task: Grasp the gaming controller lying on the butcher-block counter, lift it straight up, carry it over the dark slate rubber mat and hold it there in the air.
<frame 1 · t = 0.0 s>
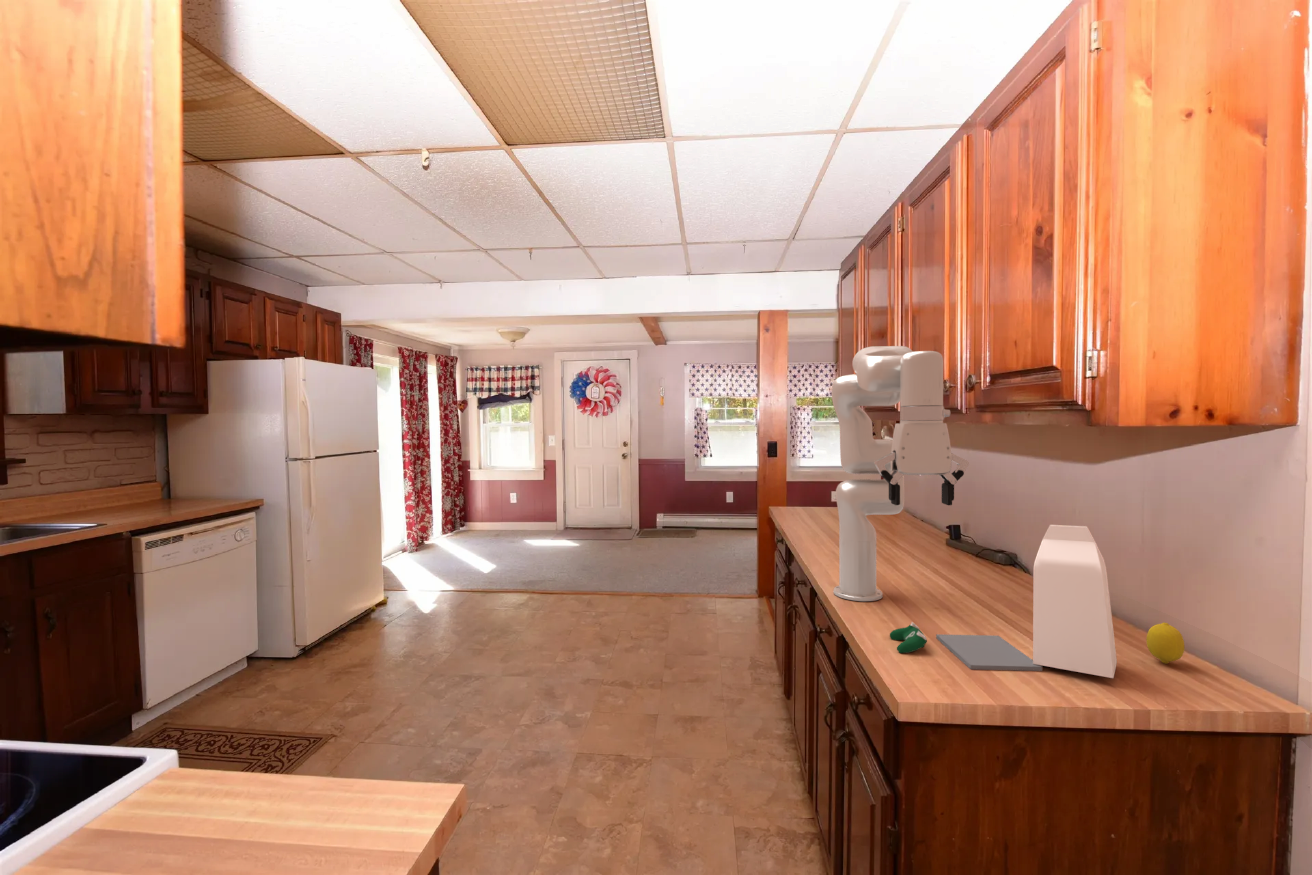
hand: (920, 504, 111), 31 cm above the countertop, tool pointing down, fingers open, 9 cm apart
gaming controller: (908, 647, 121), on the countertop
slate mat: (985, 653, 117), on the countertop
milk: (1075, 663, 110), point 1 cm above the countertop, touching slate mat
lemon: (1164, 664, 111), on the countertop
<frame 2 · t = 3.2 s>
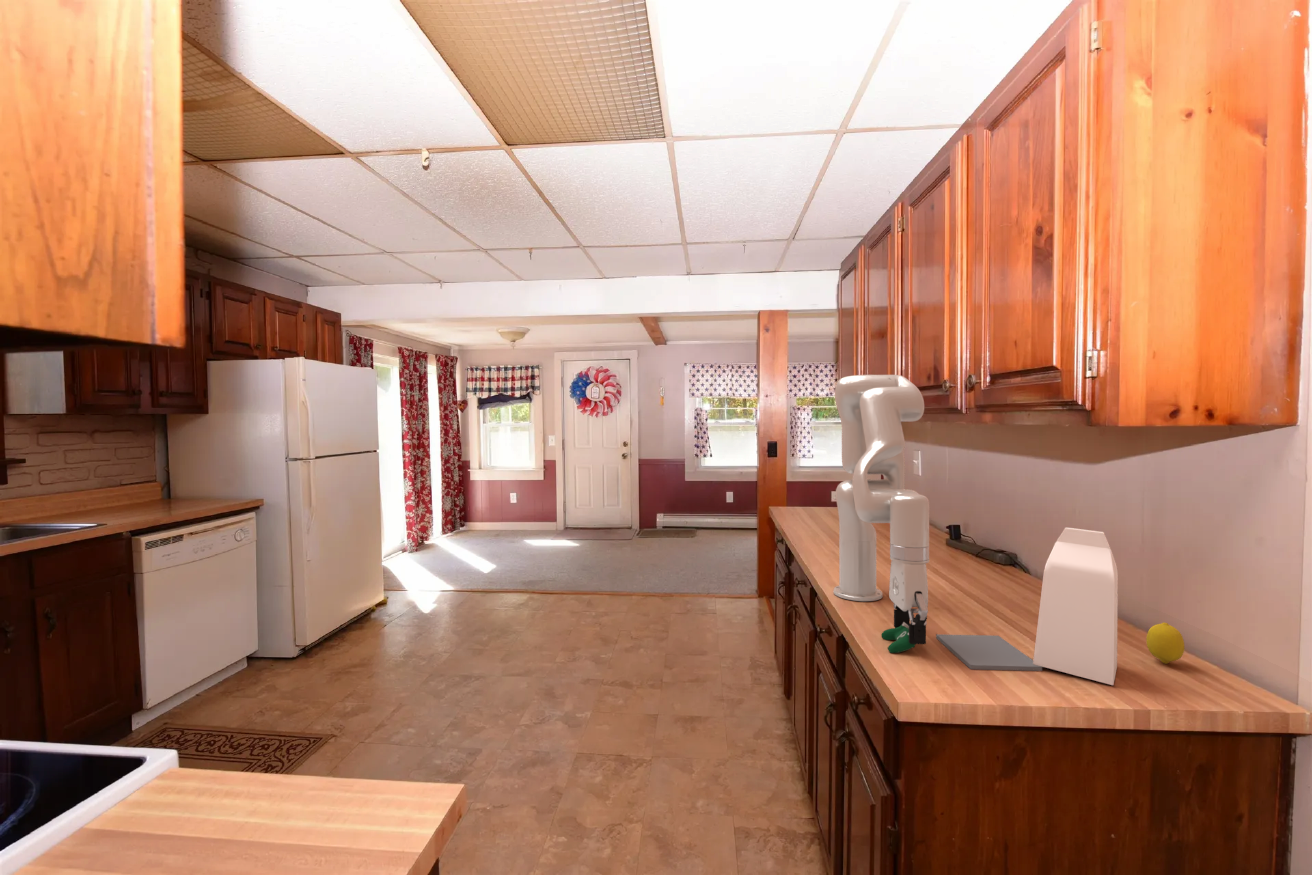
hand: (909, 635, 120), 2 cm above the countertop, tool pointing down, fingers closed on gaming controller, 8 cm apart
gaming controller: (899, 647, 121), on the countertop, touching gripper
milk: (1075, 666, 110), on the countertop, touching slate mat
everything else where it was.
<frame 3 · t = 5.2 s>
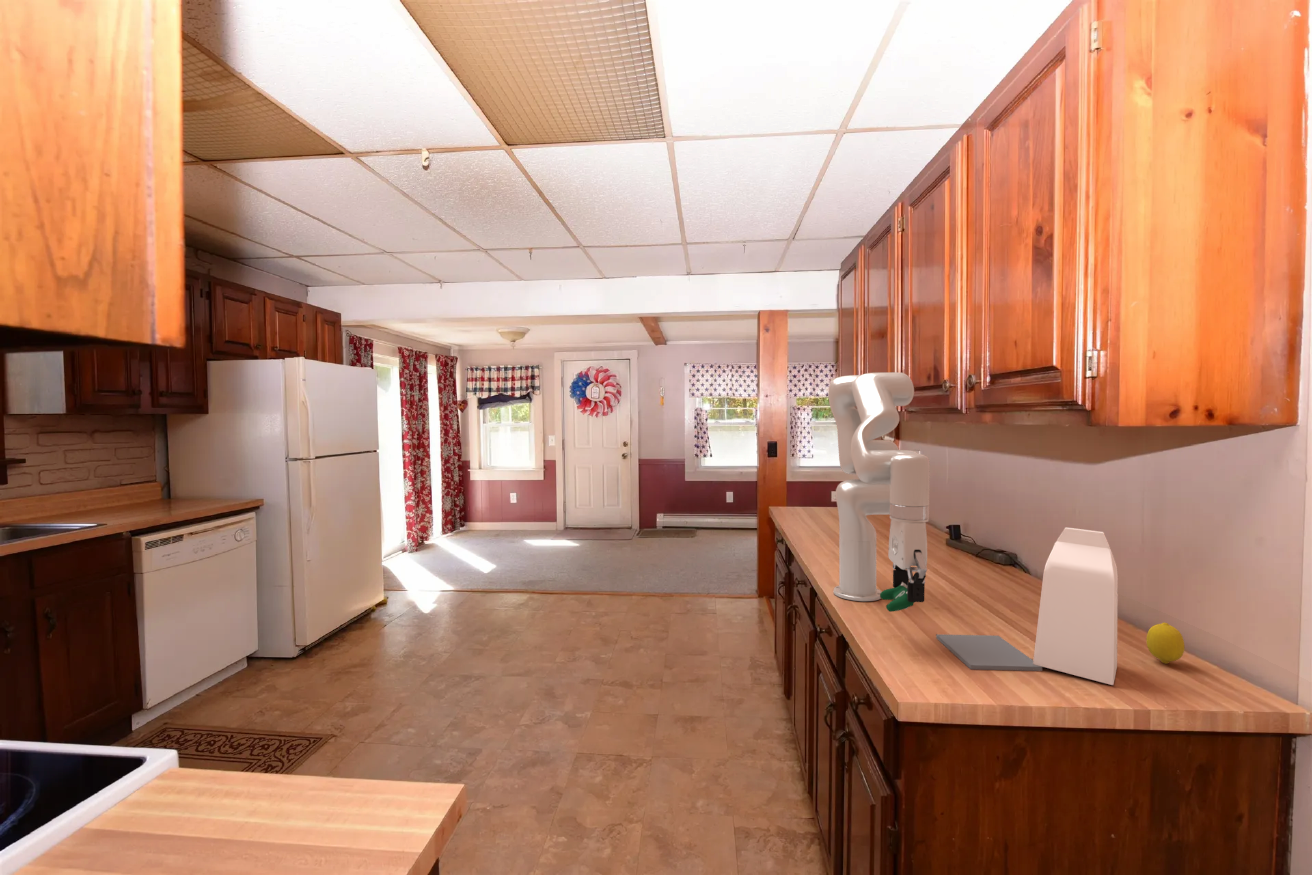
hand: (907, 594, 121), 11 cm above the countertop, tool pointing down, fingers closed on gaming controller, 8 cm apart
gaming controller: (897, 607, 122), point 8 cm above the countertop, touching gripper
everything else where it was.
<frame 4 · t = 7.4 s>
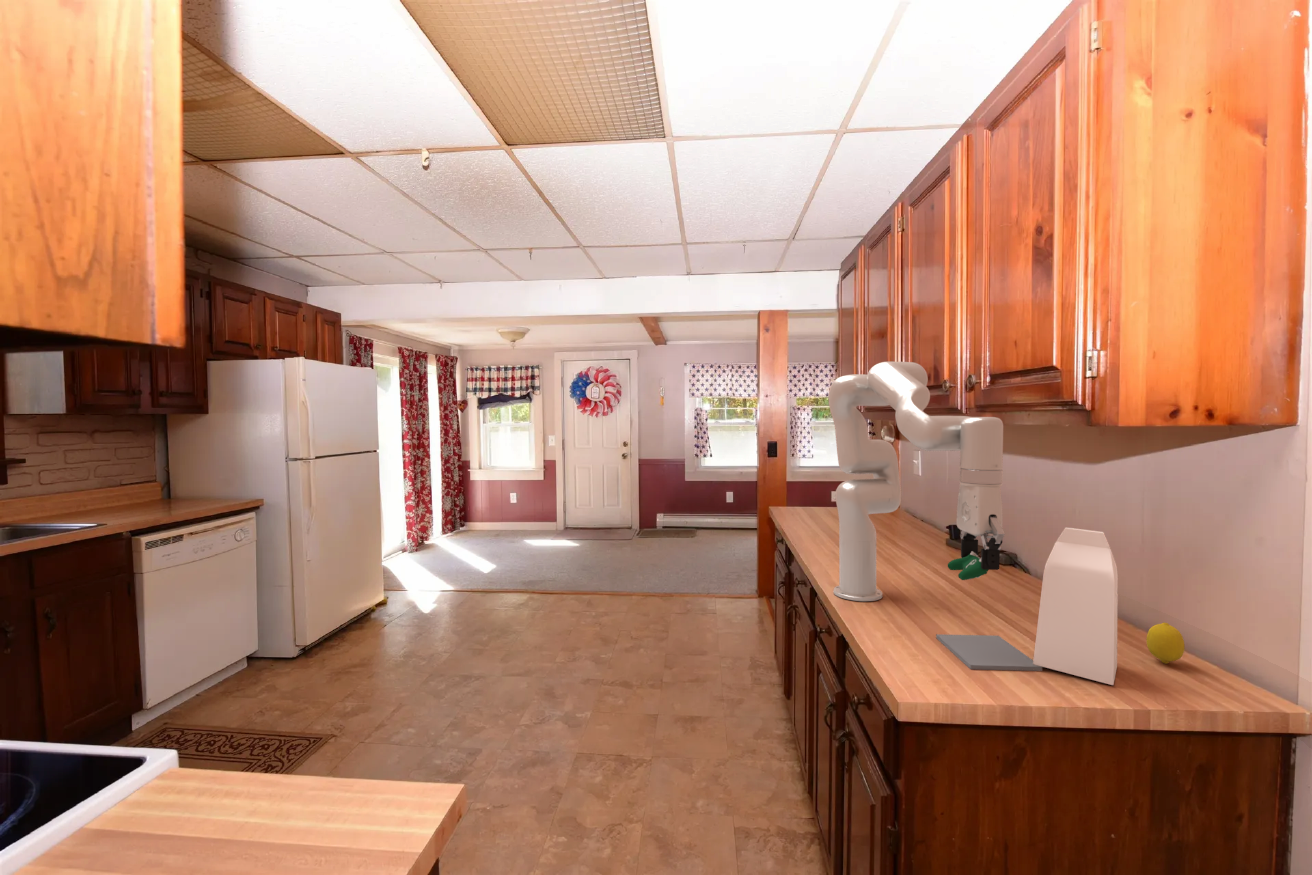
hand: (979, 563, 117), 18 cm above the countertop, tool pointing down, fingers closed on gaming controller, 8 cm apart
gaming controller: (968, 576, 117), point 16 cm above the countertop, touching gripper
everything else where it was.
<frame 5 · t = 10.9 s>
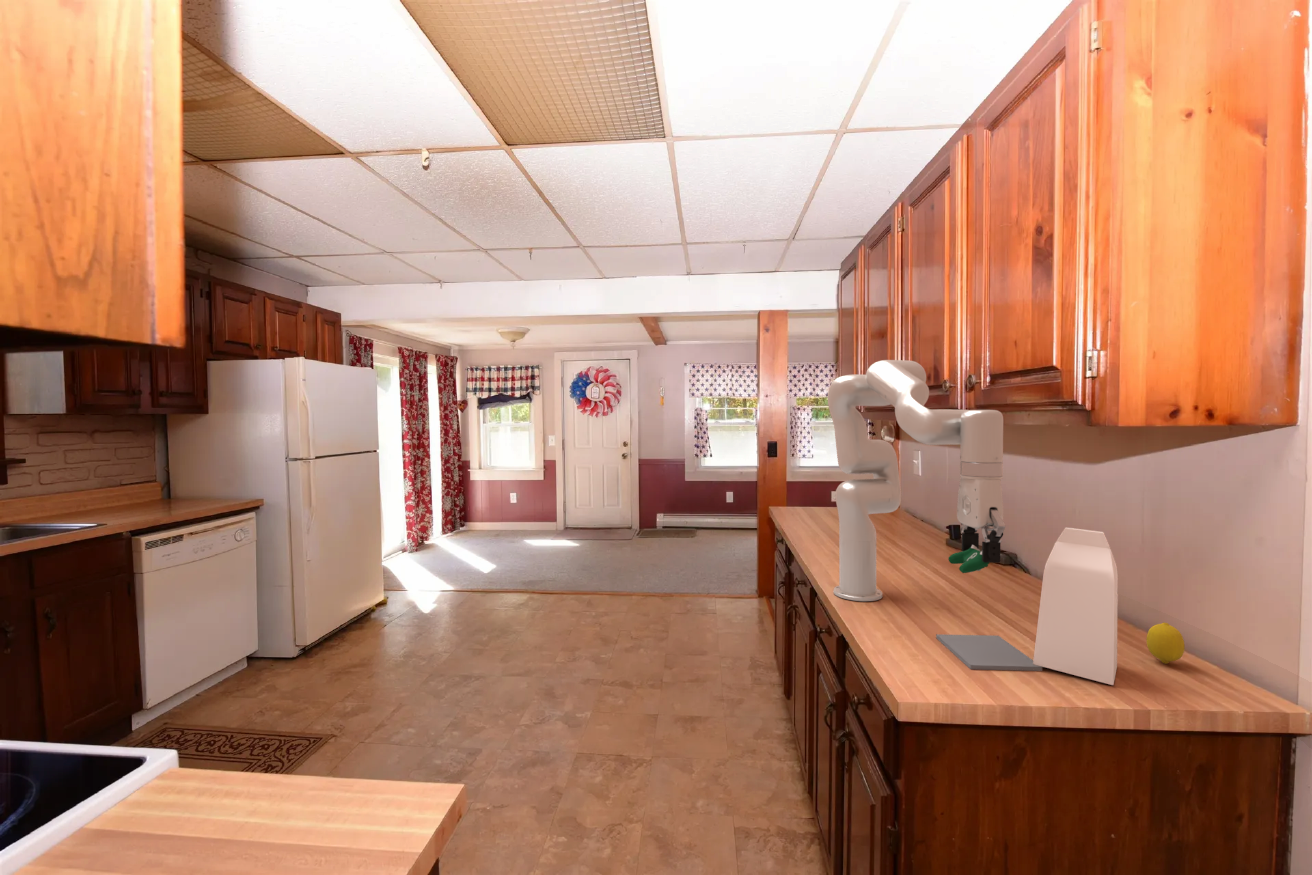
hand: (980, 556, 116), 20 cm above the countertop, tool pointing down, fingers closed on gaming controller, 8 cm apart
gaming controller: (969, 569, 117), point 17 cm above the countertop, touching gripper
everything else where it was.
at the end: the gripper is holding gaming controller; gaming controller point 17.0 cm above the countertop; gaming controller inside the target area (2.5 cm from its centre), point 17.0 cm above the countertop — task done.
